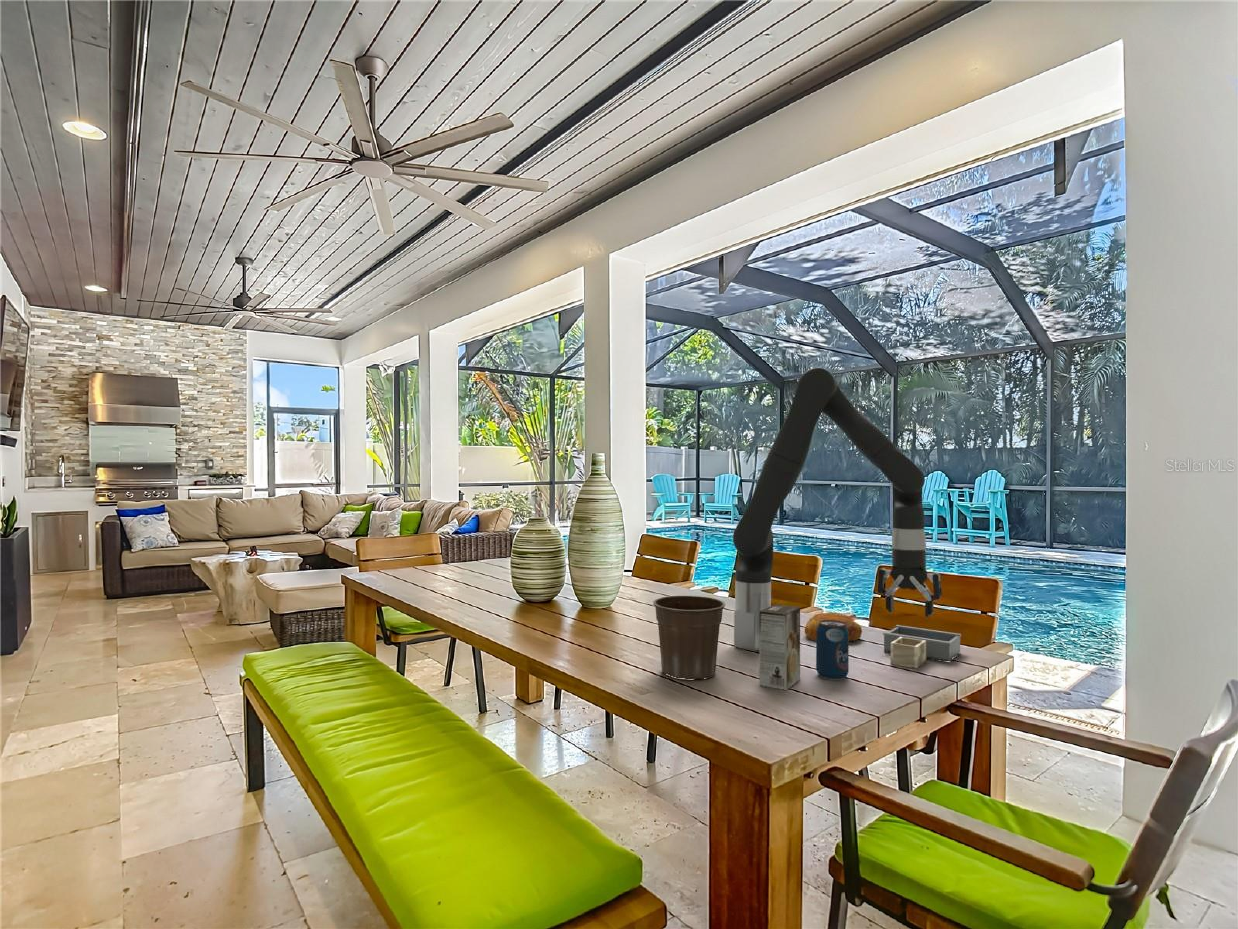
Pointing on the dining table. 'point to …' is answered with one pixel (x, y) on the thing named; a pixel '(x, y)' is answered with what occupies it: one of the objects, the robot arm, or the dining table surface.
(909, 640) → the small crate
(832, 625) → the soda can
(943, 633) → the box
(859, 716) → the dining table surface
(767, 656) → the coffee box
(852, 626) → the croissant
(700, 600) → the plant pot
